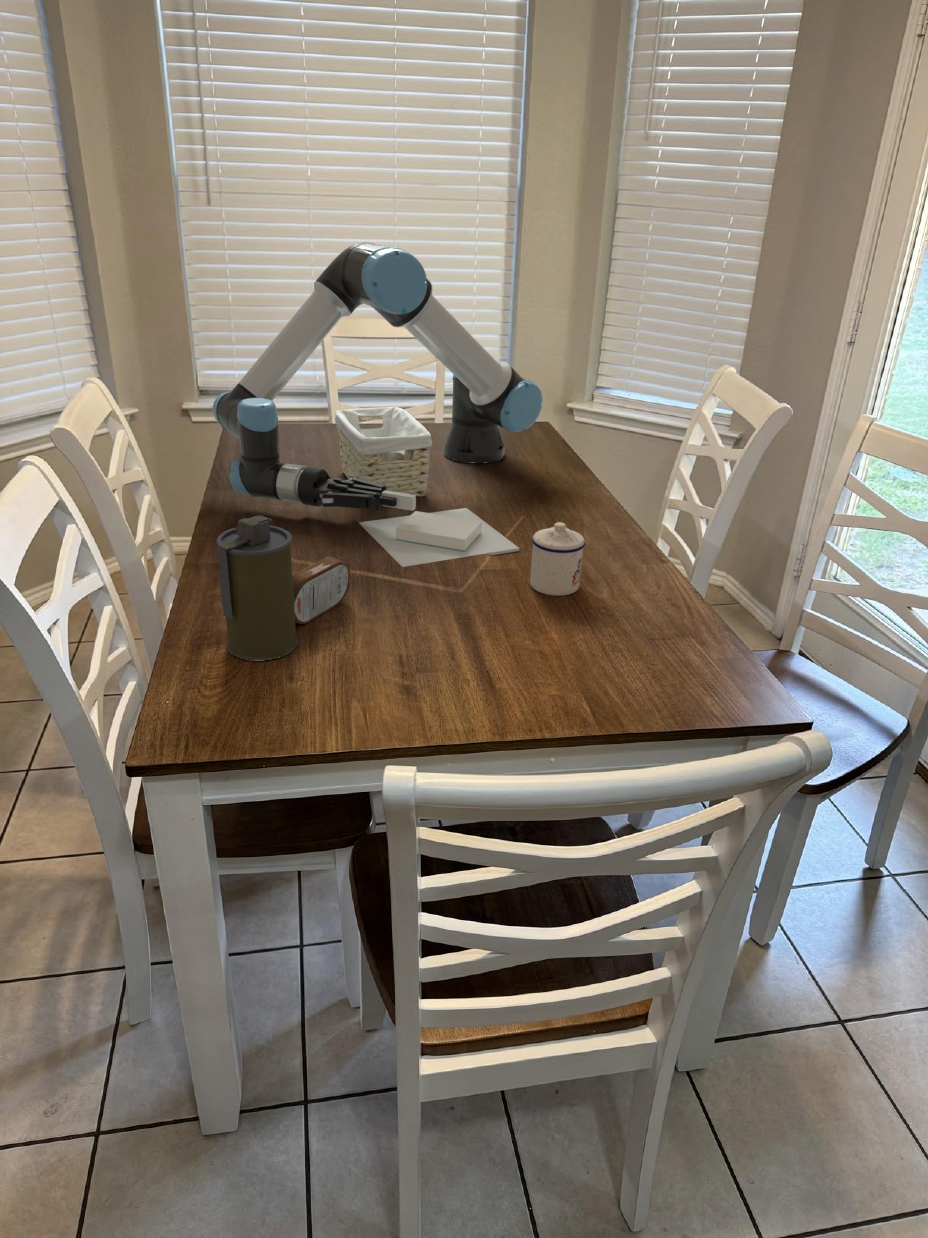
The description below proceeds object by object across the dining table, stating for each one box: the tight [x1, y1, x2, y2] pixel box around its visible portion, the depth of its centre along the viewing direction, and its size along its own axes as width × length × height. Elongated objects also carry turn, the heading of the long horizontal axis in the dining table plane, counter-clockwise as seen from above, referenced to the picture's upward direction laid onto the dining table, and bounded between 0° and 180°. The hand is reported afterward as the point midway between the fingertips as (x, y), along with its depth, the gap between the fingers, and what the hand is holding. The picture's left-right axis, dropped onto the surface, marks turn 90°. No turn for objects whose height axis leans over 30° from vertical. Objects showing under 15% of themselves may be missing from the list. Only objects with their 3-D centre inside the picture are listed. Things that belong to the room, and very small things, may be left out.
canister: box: [215, 514, 299, 661], centre depth 128 cm, size 11×10×20 cm
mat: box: [358, 507, 520, 568], centre depth 172 cm, size 24×23×1 cm
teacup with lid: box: [529, 521, 586, 597], centre depth 153 cm, size 12×9×12 cm
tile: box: [396, 510, 482, 552], centre depth 170 cm, size 2×10×14 cm
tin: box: [292, 556, 351, 625], centre depth 140 cm, size 15×3×8 cm, turn 149°
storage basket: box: [334, 406, 433, 497], centre depth 195 cm, size 24×16×15 cm
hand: (414, 502), depth 169 cm, fingers closed
